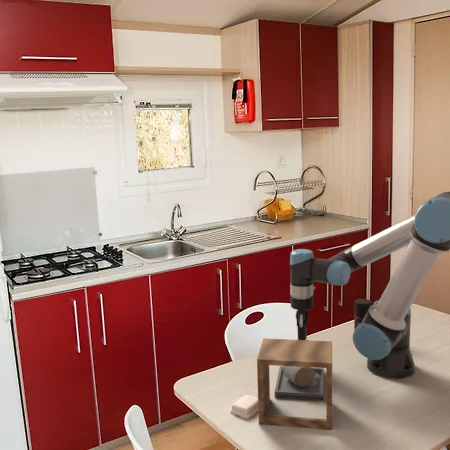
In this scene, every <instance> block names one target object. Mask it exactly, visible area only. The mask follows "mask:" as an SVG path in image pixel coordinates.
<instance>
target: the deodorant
mask: <svg viewBox="0 0 450 450" xmlns="http://www.w3.org/2000/svg"><path fill="white" fill-rule="evenodd" d="M371 306H372V300H370V299H368V298H367V299H366V298H356V299H355V300H354V313H353V314H354V321H353V322H354V326H353V327H354V330H353V332H354V331H355V329H356V327H357V326H358V325H360V324H361V323H362V321H363V319H364V317H365V315H366V313H367V312H368V310H369V308H370V307H371Z"/></svg>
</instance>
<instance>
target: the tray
mask: <svg viewBox="0 0 450 450" xmlns="http://www.w3.org/2000/svg"><path fill="white" fill-rule="evenodd" d="M311 368H312V370H313V371H314V372H315V373H317V374H318V375H319V379H318V381H312V382H311V383H310V384H309V385H308V386H306V387H299V386H297V385H295V384H294V383H293V382H292V381H291V380H289V379H288V378H287V377H286V376H285V375H284V373H283V366H279V368H278V375H277V378H276V384H275V388H274V397H275V398H285V399H301V400H303V399H305V400H317V401H323V399H324V379H325V378H324V377H325V376H324V374H325V372H324V371H325V368H314V367H311Z"/></svg>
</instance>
